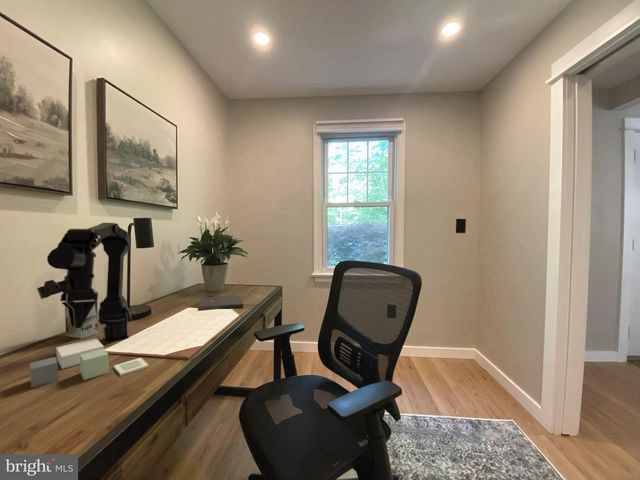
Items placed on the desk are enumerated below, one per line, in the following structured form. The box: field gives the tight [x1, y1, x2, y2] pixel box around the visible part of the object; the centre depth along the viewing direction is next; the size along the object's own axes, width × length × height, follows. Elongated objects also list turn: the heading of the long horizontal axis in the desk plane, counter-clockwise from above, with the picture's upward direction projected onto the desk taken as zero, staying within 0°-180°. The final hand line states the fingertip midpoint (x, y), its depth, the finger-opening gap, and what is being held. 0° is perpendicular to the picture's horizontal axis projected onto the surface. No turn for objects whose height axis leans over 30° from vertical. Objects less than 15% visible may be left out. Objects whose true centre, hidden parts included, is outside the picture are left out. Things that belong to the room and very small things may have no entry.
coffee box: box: [64, 299, 99, 339], centre depth 108 cm, size 9×6×16 cm
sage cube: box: [79, 348, 110, 381], centre depth 80 cm, size 6×6×6 cm
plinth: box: [56, 337, 105, 370], centre depth 89 cm, size 10×10×4 cm
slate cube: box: [29, 356, 59, 388], centre depth 76 cm, size 5×5×5 cm
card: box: [113, 357, 149, 377], centre depth 84 cm, size 7×7×1 cm
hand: (75, 326), depth 78 cm, fingers open, 9 cm apart
